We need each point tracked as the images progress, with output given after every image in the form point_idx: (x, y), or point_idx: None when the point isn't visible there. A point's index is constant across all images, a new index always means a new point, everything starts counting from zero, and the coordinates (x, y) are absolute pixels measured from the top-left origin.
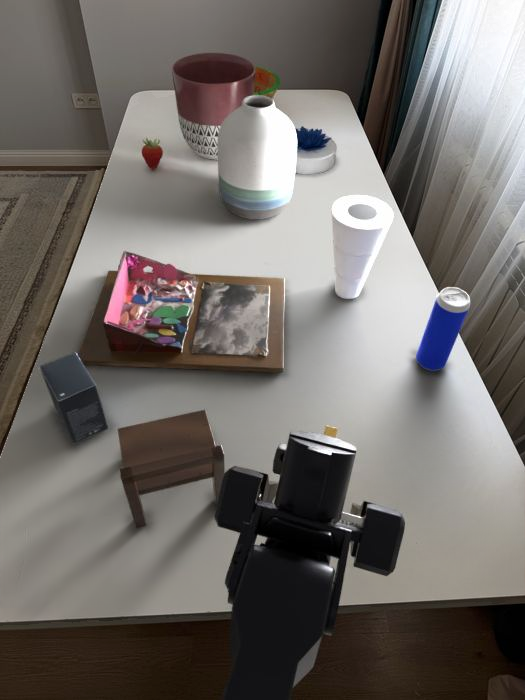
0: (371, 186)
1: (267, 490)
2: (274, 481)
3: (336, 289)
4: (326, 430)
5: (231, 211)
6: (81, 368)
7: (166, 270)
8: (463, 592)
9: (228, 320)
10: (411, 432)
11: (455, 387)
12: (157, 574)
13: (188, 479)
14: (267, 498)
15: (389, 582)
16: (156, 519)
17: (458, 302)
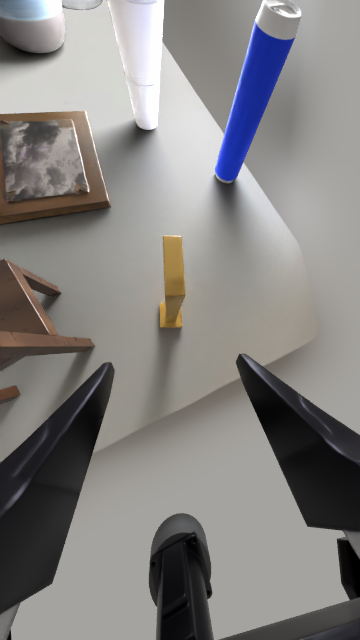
0: None
1: (21, 516)
2: (97, 369)
3: (136, 117)
4: (166, 243)
5: (6, 39)
6: None
7: None
8: (289, 350)
9: (38, 160)
10: (226, 237)
11: (247, 193)
12: None
13: (5, 363)
14: (62, 478)
15: None
16: (29, 384)
17: (289, 15)
